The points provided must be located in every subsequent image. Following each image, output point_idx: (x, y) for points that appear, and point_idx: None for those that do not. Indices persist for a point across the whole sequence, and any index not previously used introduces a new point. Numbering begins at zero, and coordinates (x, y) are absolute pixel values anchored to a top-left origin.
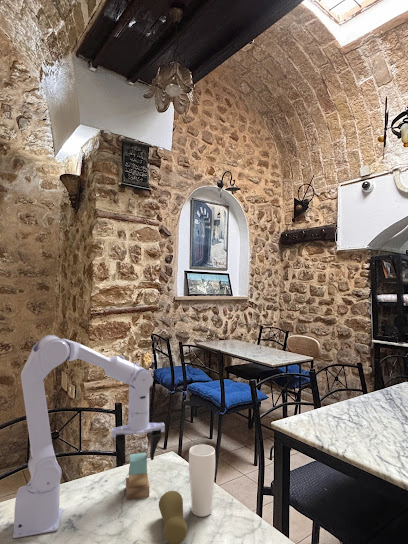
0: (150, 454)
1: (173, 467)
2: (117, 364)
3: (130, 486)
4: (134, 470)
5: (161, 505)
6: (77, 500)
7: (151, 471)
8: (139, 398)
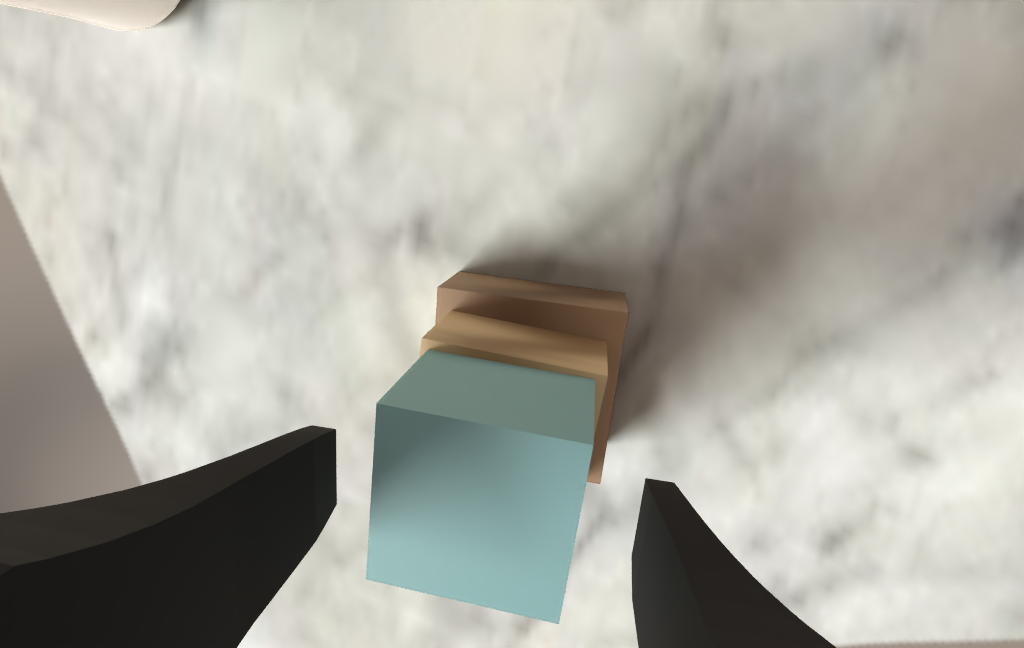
0: (315, 502)
1: None
2: None
3: (591, 338)
4: (546, 387)
5: None
6: (984, 435)
7: None
8: None
